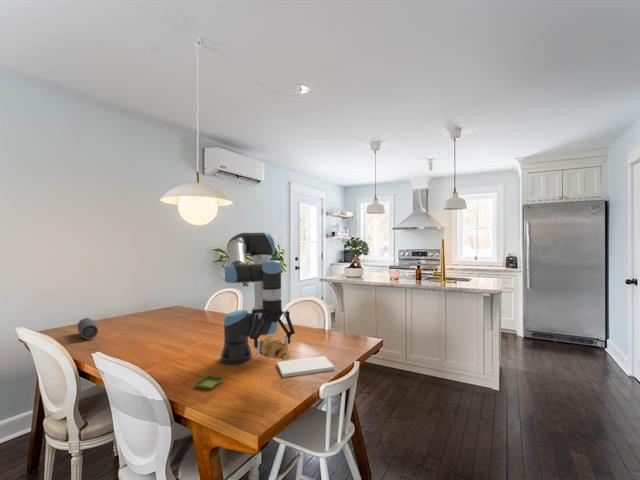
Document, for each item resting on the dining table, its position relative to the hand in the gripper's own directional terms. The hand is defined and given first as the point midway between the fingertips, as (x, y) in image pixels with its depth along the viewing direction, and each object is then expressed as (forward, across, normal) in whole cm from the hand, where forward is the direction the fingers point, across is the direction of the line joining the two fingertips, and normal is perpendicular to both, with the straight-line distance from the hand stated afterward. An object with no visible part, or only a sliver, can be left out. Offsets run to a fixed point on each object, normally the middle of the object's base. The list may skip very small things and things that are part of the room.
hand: (272, 353), depth 128 cm
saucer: (+14, -24, +12) cm, 31 cm away
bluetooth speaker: (+15, -96, +110) cm, 147 cm away
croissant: (+1, 0, 0) cm, 1 cm away
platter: (+14, +18, +15) cm, 27 cm away
